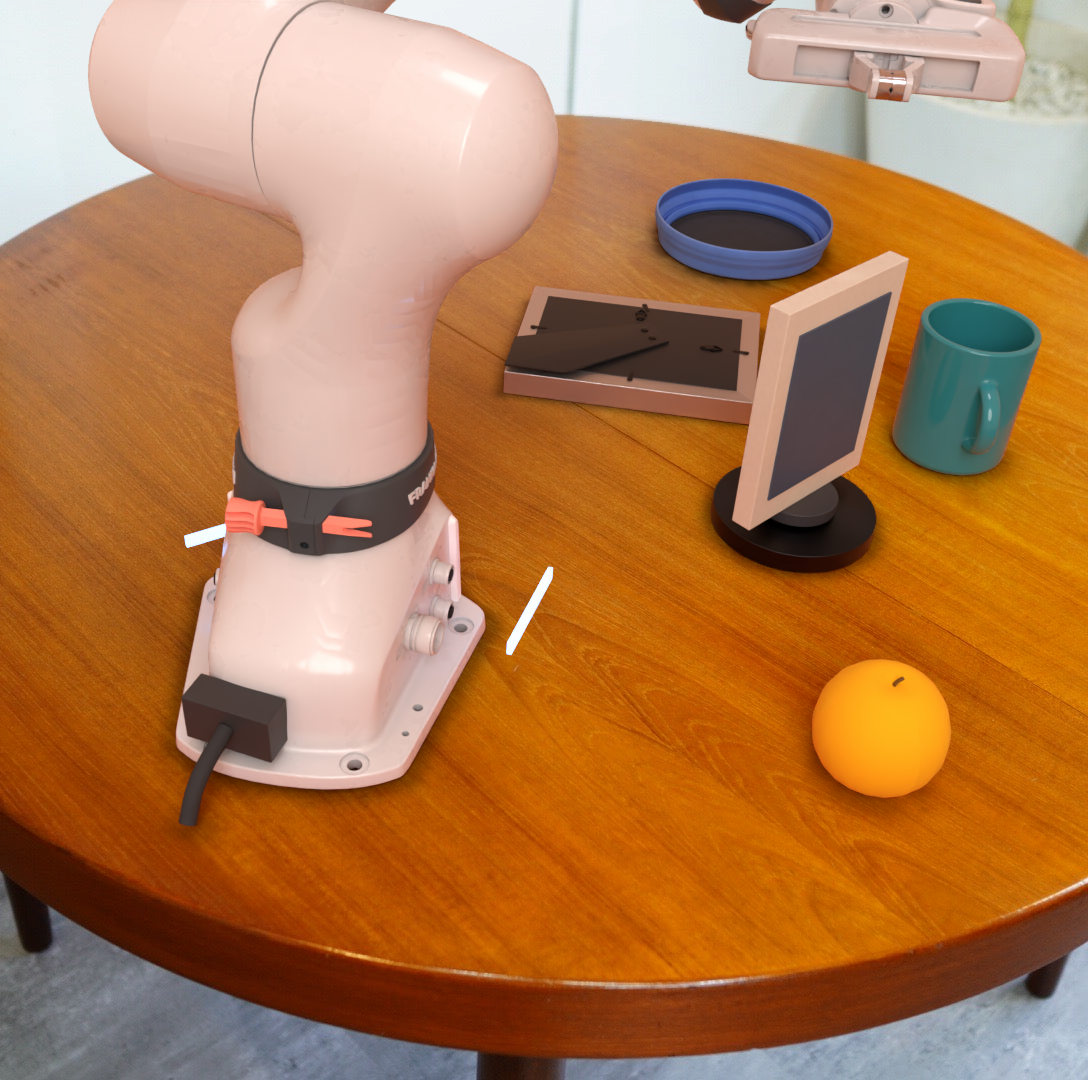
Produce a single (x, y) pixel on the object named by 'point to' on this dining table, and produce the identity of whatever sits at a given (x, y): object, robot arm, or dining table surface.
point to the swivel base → (798, 531)
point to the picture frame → (636, 355)
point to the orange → (881, 728)
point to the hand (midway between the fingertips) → (891, 90)
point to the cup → (964, 385)
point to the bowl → (742, 228)
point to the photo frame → (816, 393)
